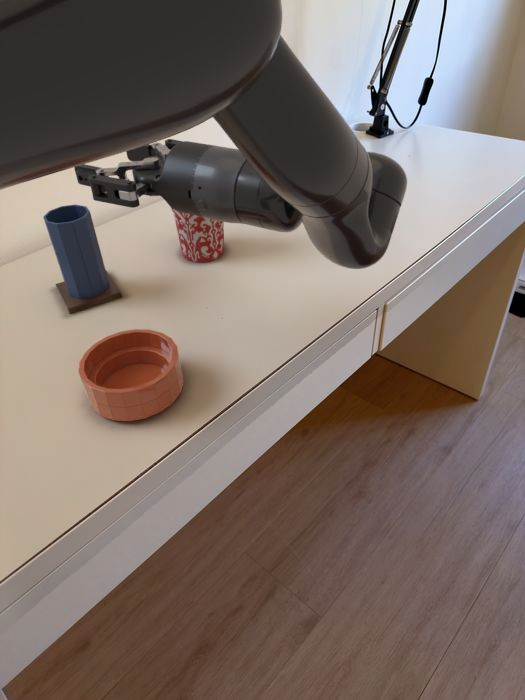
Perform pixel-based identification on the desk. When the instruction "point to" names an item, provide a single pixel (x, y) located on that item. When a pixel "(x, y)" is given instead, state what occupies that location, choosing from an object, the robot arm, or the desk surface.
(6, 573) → the desk surface
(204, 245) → the mug
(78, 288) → the tumbler
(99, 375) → the bowl
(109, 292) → the coaster
